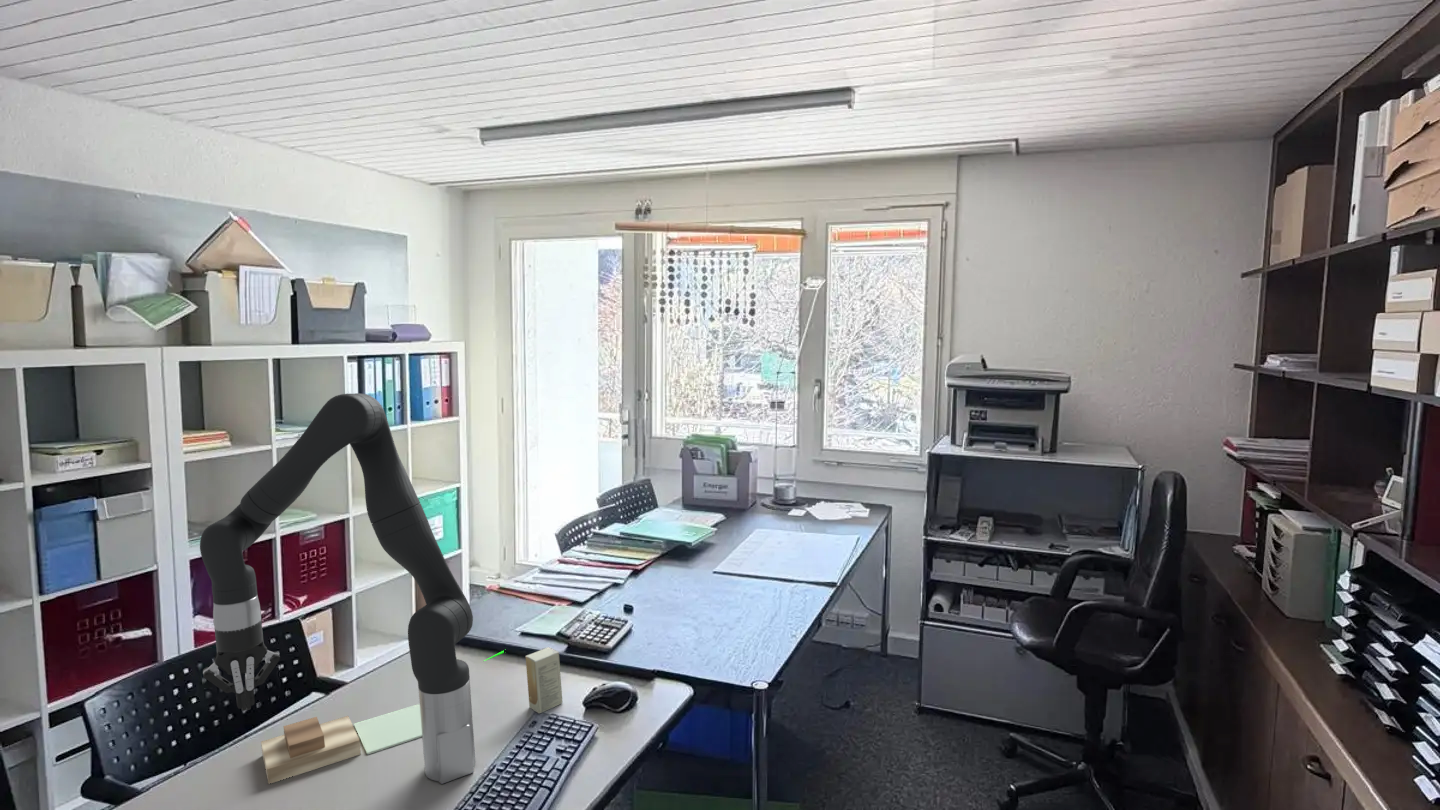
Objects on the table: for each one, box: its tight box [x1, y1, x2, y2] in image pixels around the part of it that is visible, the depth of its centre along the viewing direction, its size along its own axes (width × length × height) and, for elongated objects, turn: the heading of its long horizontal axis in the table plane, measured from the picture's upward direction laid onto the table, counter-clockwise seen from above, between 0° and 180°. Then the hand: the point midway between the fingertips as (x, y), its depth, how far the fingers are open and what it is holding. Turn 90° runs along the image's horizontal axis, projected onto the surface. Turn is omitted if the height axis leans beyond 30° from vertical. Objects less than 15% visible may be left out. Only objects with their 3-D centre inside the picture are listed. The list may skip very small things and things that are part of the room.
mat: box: [353, 703, 422, 755], centre depth 165 cm, size 14×20×1 cm
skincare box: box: [525, 646, 563, 714], centre depth 170 cm, size 6×4×12 cm
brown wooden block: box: [283, 716, 325, 758], centre depth 153 cm, size 9×6×2 cm, turn 36°
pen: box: [484, 650, 505, 662], centre depth 199 cm, size 1×14×1 cm, turn 144°
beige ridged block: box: [260, 715, 362, 785], centre depth 154 cm, size 12×16×3 cm
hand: (246, 708), depth 147 cm, fingers closed
